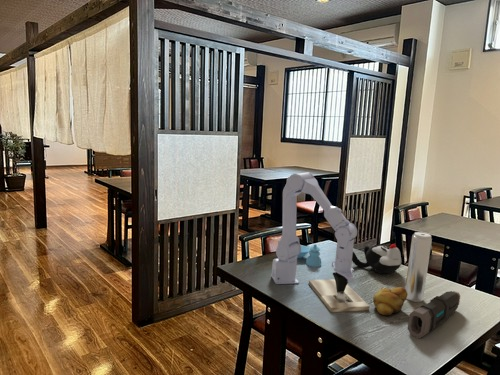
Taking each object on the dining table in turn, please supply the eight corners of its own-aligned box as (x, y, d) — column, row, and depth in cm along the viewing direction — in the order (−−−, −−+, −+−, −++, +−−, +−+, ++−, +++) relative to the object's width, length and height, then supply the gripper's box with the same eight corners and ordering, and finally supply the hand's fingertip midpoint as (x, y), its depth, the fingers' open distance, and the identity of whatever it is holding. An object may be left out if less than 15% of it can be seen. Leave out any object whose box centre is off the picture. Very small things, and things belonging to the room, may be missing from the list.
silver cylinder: (408, 292, 139) (416, 230, 135) (425, 298, 135) (435, 234, 130) (401, 297, 135) (409, 233, 130) (419, 304, 130) (428, 238, 126)
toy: (396, 255, 145) (356, 230, 158) (381, 288, 151) (344, 261, 164) (414, 248, 155) (375, 225, 168) (400, 279, 161) (363, 254, 174)
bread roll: (391, 321, 117) (394, 298, 116) (364, 309, 124) (366, 288, 123) (407, 309, 126) (410, 287, 125) (381, 298, 133) (384, 278, 132)
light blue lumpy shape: (283, 255, 172) (284, 237, 170) (299, 252, 178) (300, 234, 177) (310, 268, 158) (312, 249, 156) (326, 264, 164) (328, 245, 162)
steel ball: (337, 295, 126) (332, 293, 130) (341, 306, 126) (336, 303, 130) (347, 290, 127) (342, 288, 130) (351, 301, 127) (346, 298, 130)
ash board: (330, 312, 121) (331, 307, 121) (308, 283, 142) (309, 280, 142) (368, 310, 124) (369, 306, 124) (341, 282, 145) (341, 279, 145)
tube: (465, 322, 125) (428, 342, 105) (445, 318, 130) (406, 336, 110) (463, 290, 126) (426, 304, 106) (443, 288, 131) (404, 300, 111)
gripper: (364, 264, 122) (359, 302, 124) (345, 250, 136) (341, 283, 138) (344, 265, 120) (340, 302, 123) (327, 250, 134) (324, 284, 137)
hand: (340, 292), depth 130 cm, fingers closed
